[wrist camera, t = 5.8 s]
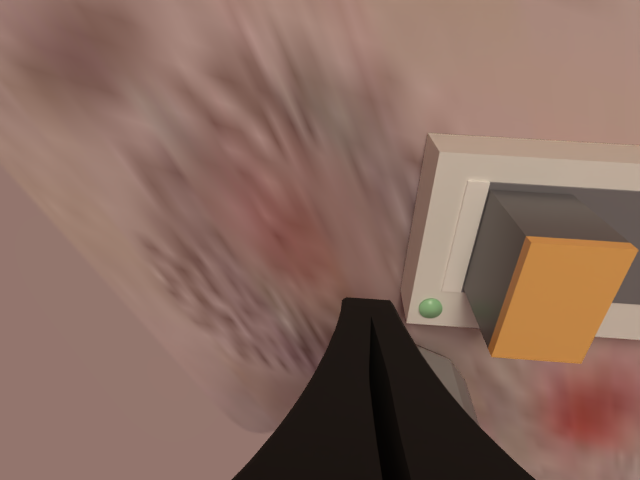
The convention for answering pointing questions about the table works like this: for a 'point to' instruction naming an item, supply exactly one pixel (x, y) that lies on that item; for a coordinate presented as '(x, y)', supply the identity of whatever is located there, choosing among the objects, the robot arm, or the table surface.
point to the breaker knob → (543, 275)
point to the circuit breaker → (511, 175)
